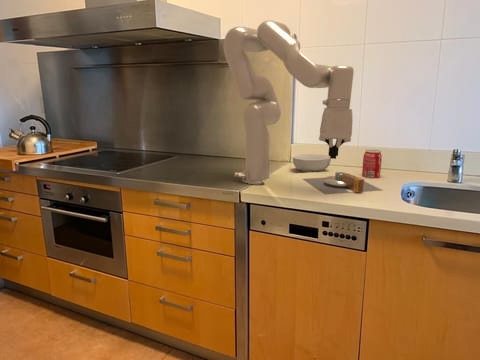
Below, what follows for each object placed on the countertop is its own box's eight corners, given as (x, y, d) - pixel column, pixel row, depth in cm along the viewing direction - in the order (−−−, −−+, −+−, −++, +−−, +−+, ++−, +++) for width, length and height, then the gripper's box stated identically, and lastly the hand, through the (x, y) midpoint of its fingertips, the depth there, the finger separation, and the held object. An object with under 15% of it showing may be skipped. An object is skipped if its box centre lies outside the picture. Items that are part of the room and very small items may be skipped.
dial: (318, 180, 139) (318, 169, 137) (345, 177, 142) (345, 167, 141) (345, 193, 121) (345, 181, 120) (375, 189, 125) (376, 178, 124)
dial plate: (324, 198, 123) (324, 193, 122) (302, 182, 144) (302, 178, 143) (382, 194, 127) (383, 189, 126) (352, 179, 148) (352, 175, 147)
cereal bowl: (316, 166, 173) (317, 151, 171) (337, 173, 158) (338, 157, 156) (285, 169, 167) (286, 154, 166) (304, 177, 152) (305, 160, 151)
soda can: (375, 177, 151) (378, 149, 148) (382, 181, 144) (385, 152, 141) (359, 177, 150) (361, 149, 147) (365, 182, 143) (367, 152, 140)
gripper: (317, 104, 116) (312, 159, 121) (363, 106, 115) (357, 161, 120) (314, 102, 124) (309, 154, 129) (358, 104, 123) (352, 156, 128)
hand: (332, 157), depth 125 cm, fingers closed
